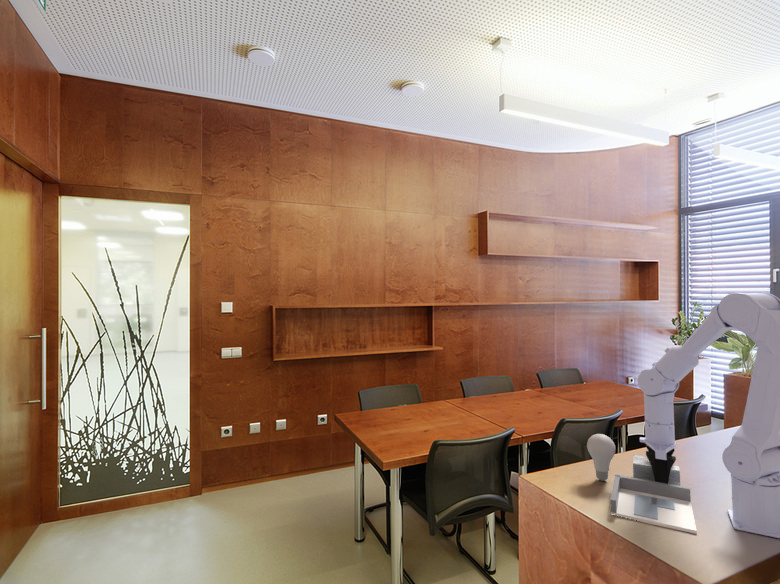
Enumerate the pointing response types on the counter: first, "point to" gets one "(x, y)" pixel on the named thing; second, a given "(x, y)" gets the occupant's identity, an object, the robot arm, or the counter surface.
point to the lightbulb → (601, 454)
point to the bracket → (645, 472)
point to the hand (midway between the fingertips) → (661, 481)
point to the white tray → (653, 503)
